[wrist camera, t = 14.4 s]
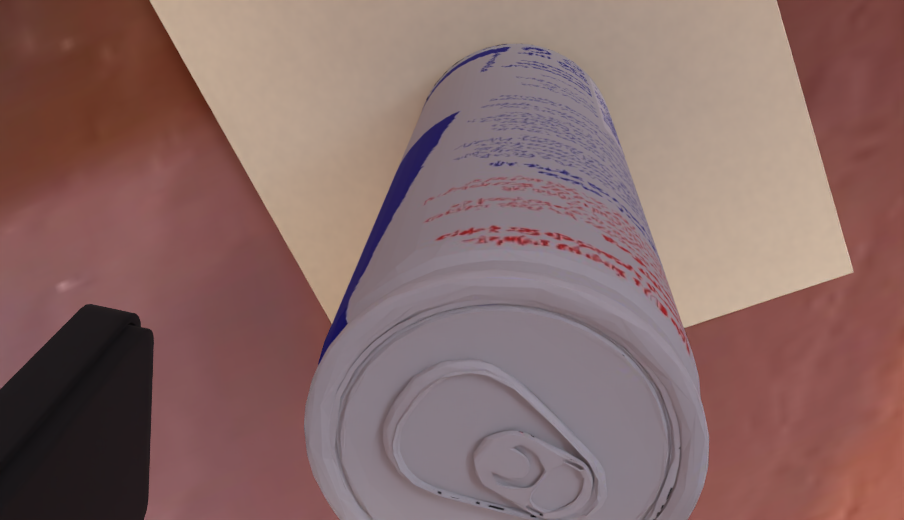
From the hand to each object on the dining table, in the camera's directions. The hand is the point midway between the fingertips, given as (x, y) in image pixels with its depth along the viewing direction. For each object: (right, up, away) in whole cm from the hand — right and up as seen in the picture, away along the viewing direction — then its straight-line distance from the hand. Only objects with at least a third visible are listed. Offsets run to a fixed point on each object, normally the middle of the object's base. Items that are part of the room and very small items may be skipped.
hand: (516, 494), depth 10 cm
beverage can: (+1, +7, +15) cm, 16 cm away
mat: (+1, +7, +15) cm, 17 cm away
